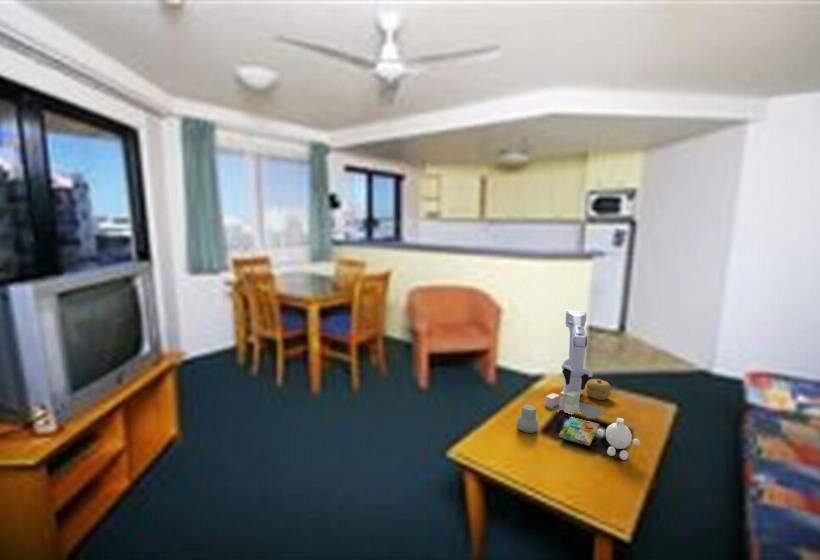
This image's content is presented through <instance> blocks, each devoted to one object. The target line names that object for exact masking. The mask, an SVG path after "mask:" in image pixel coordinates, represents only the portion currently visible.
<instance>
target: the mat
mask: <svg viewBox="0 0 820 560" xmlns="http://www.w3.org/2000/svg"><path fill="white" fill-rule="evenodd" d="M565 398H566V395H562V396H559V404H558V405H556V406H554V407H552V408H550V407H547V406H545V404H544V405H542V407H544V408H546V409H548V410H552V411H555V412H557V413H559V411H560V410H564V408H565ZM579 409H580V410H579ZM579 409H578V410H579V412H581V413H582V415H585V416H586V417H587V418H593V420H595V419H596V418H597V417H599V416H601V415H602V414H604V413H605V412H606V410H605V409H602V408H600V407H597V406H594V405H591V404H588V403H584V402H582V401H580V400H579Z"/></svg>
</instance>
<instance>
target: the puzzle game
mask: <svg viewBox="0 0 820 560" xmlns="http://www.w3.org/2000/svg"><path fill="white" fill-rule="evenodd" d="M598 429H600V423H597V422H593V421H586V420H583V419H579V418H575V417H572V416H571V417H570V416H569V419H567V421H566V423H565V425H563V428H562V429H561V430H560V432H559V433H558V437H560V438H562V439H564V440H566V441H569V442H572V441H573V442H572V443H575V442H577V443H576V444H579V443H580V445H582V444H584V445H583V446H585V445H587V446H586V447H590V446H591V444H592V441H594V438H595V436H596V434H597V430H598Z"/></svg>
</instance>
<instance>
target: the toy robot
mask: <svg viewBox="0 0 820 560" xmlns="http://www.w3.org/2000/svg"><path fill="white" fill-rule="evenodd" d="M624 422H625V419H624V418H621V417H617V418H616V421H615V422H613V423H611V424H610V425H608V426H607V427H606V430H605V433H604V430H603V429H601V428H598V430H597V432H596V434H597V435H598V436H603V435H604V434H605V438H606V441H607V443H608V444H609V445H610V446H609V447H608V448H607V451H606V453H607V455H608V456H611V457H613V456H615V455H616V449H621V451H620V452H619V458H620V459H621V460H623V461H624V460H627V459H628V458H629V453H628V451H627V450H625V449H626V448H628V447H629V446H630V445H631V443H633V445H634V446H639V445H641V441H640V440H639V439H638V438H634V439H632V437H633V435H632V431H631V430H630V429H629V427H628V426H627V425H625V424H624Z"/></svg>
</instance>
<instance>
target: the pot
mask: <svg viewBox="0 0 820 560" xmlns="http://www.w3.org/2000/svg"><path fill="white" fill-rule="evenodd" d="M611 389H612V386H611V384H610V383H609V382H608V381H606V380H605V379H604V380H603V379H600V378H591V379H589V380H588V381H587V383H586V385H585V392H586V394H587V395H588V397H590V398H592V399H593V400H597V401H602V400H603V401H604V400H607V399H608V398H609V397H610V396H611V393H612V392H611Z"/></svg>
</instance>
